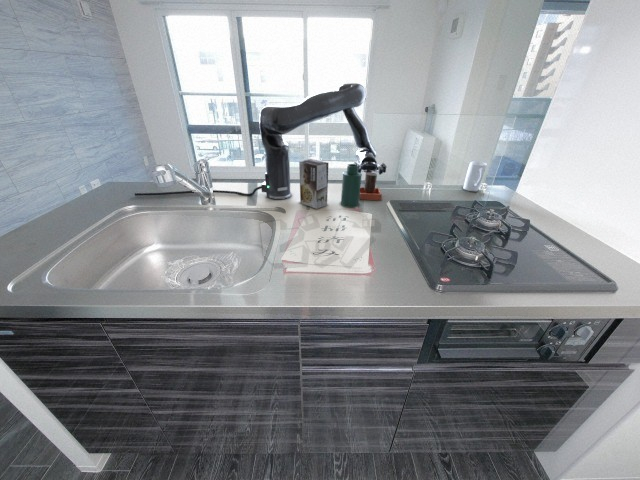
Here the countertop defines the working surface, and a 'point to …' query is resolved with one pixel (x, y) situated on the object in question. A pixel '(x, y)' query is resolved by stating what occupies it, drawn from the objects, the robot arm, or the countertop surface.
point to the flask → (351, 186)
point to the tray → (367, 196)
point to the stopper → (370, 182)
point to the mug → (474, 175)
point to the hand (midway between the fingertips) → (370, 171)
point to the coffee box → (313, 183)
